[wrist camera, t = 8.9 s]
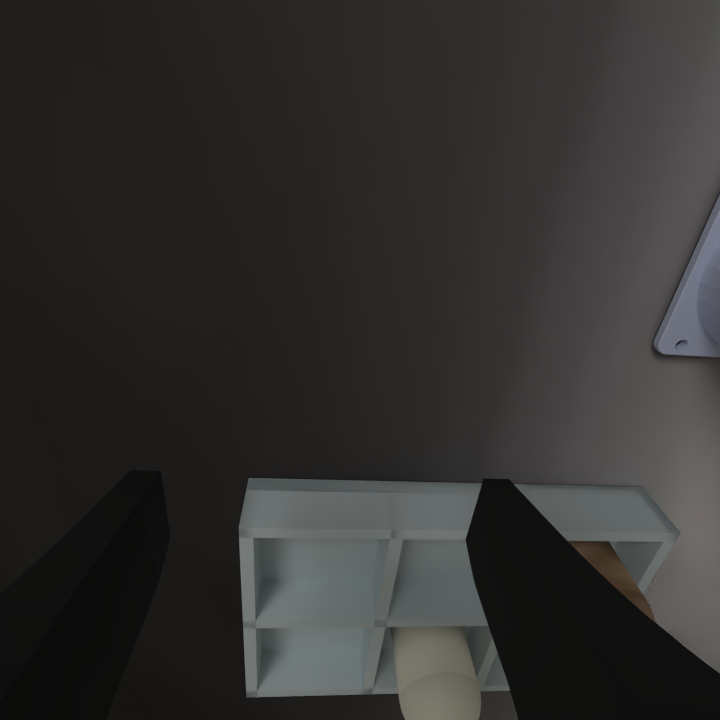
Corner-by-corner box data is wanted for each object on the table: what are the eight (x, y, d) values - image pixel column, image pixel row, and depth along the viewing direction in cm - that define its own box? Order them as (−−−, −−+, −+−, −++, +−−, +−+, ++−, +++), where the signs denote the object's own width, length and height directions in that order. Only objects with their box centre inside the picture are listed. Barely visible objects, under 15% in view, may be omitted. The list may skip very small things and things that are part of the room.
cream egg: (443, 588, 26) (473, 712, 21) (470, 625, 28) (504, 747, 23) (377, 614, 27) (390, 739, 22) (408, 648, 29) (426, 771, 24)
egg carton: (642, 486, 24) (680, 533, 22) (562, 639, 31) (584, 688, 28) (248, 478, 22) (238, 528, 20) (253, 643, 29) (246, 697, 26)
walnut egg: (613, 518, 24) (695, 635, 19) (587, 570, 26) (654, 689, 21) (537, 517, 24) (598, 636, 19) (516, 570, 26) (566, 691, 21)
